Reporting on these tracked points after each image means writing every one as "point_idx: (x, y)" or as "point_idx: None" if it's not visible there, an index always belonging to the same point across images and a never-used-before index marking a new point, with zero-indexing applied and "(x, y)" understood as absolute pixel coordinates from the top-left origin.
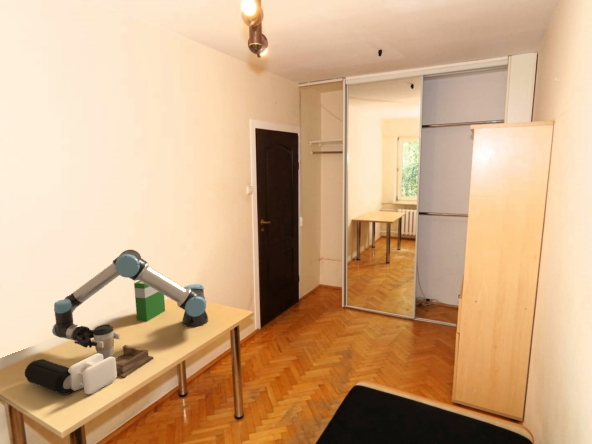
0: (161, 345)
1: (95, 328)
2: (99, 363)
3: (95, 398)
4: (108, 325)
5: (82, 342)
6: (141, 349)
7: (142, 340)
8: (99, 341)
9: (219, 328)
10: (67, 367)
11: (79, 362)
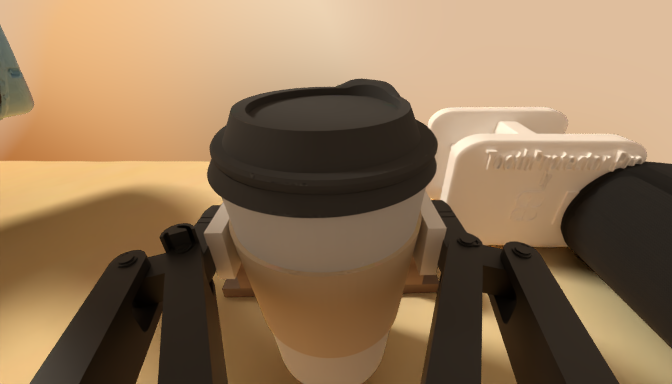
0: (147, 225)
1: (392, 118)
2: (500, 107)
3: None
4: (251, 107)
5: (559, 305)
6: None
7: (24, 345)
8: None
9: (36, 167)
10: (661, 196)
11: (588, 137)
